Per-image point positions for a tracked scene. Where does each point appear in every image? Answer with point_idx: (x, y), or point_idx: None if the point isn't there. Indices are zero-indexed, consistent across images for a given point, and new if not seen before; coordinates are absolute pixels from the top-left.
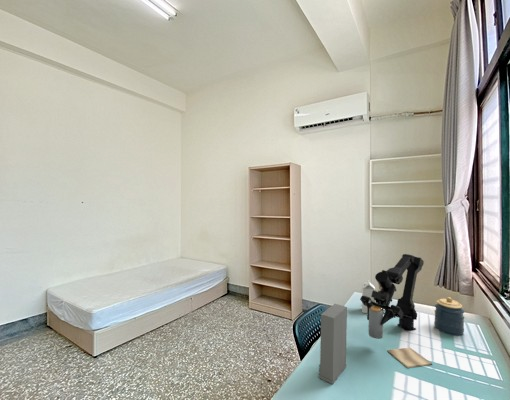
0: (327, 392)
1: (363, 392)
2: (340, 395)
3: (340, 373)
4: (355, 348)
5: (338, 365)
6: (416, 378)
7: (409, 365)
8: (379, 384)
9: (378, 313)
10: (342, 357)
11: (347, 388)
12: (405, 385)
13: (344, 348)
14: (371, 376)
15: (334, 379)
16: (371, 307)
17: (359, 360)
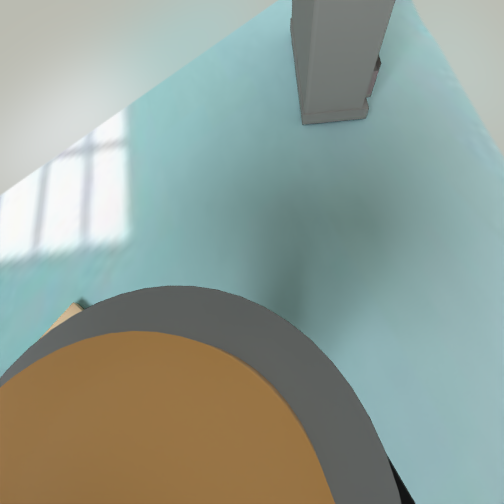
0: (286, 5)
1: (202, 64)
2: (252, 18)
3: (296, 74)
4: (346, 293)
5: (297, 17)
6: (46, 250)
7: (63, 320)
8: (168, 124)
9: (72, 332)
10: (303, 33)
11: (248, 48)
12: (87, 179)
13: (308, 10)
14: (202, 142)
15: (291, 28)
16: (287, 443)
17: (280, 203)
